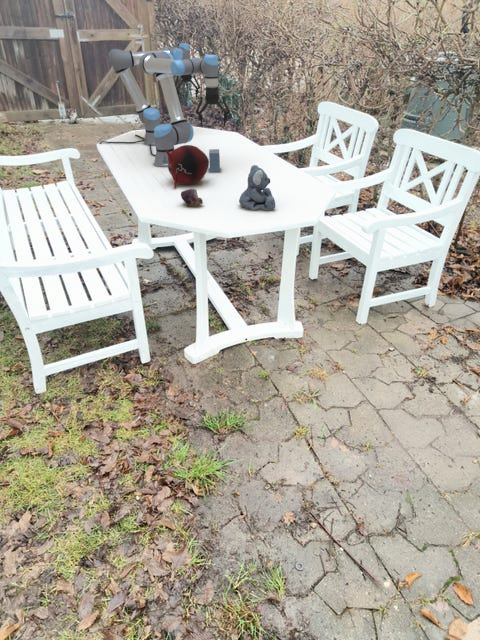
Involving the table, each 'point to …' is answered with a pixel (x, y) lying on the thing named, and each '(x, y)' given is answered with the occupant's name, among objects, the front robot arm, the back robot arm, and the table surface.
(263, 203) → the koala plush
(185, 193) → the rock
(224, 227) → the table surface
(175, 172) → the dark red rounded piece
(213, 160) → the block
